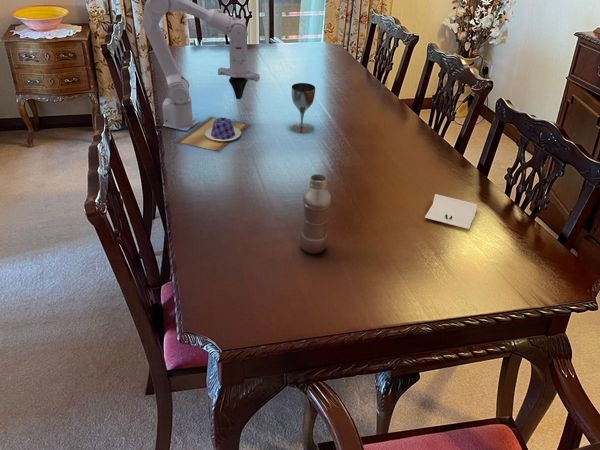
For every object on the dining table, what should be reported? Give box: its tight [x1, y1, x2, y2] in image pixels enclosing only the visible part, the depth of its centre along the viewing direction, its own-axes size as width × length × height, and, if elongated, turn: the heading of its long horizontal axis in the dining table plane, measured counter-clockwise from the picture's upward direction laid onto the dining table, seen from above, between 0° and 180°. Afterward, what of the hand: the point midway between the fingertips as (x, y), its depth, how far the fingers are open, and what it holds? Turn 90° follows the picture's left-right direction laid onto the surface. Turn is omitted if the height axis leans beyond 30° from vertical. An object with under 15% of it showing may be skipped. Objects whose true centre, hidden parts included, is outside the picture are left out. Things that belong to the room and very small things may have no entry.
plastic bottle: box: [299, 173, 332, 255], centre depth 130 cm, size 6×7×20 cm
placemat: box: [177, 117, 249, 152], centre depth 187 cm, size 15×22×1 cm
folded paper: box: [424, 193, 478, 230], centre depth 150 cm, size 12×12×2 cm
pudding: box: [205, 117, 242, 141], centre depth 184 cm, size 12×12×5 cm
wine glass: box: [290, 82, 316, 134], centre depth 189 cm, size 8×8×15 cm
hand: (239, 98), depth 189 cm, fingers closed
